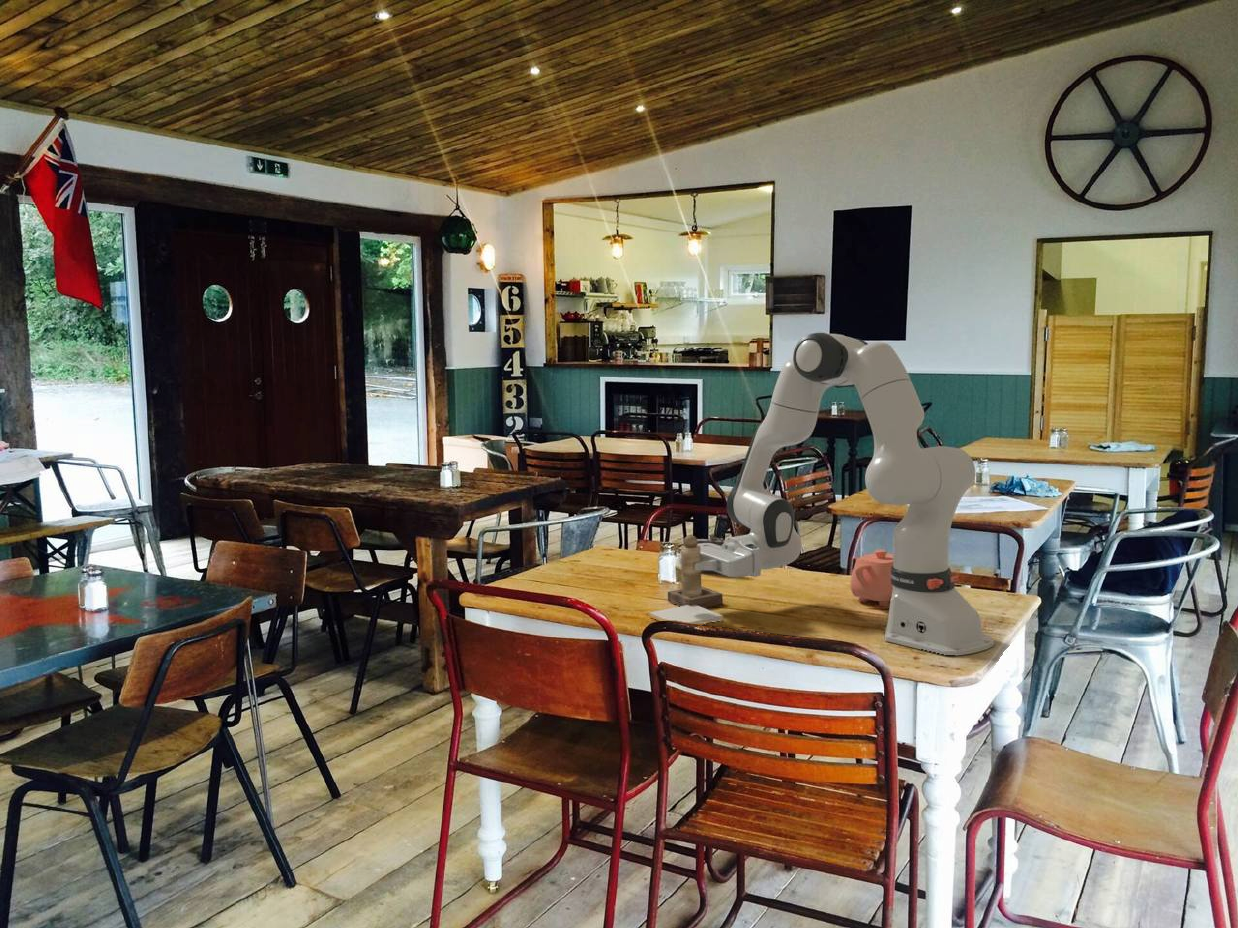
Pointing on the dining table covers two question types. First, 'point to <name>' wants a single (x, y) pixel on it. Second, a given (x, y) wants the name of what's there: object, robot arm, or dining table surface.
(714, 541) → the flask
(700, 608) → the board
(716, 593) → the holder
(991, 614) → the dining table surface
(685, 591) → the mill
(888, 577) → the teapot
